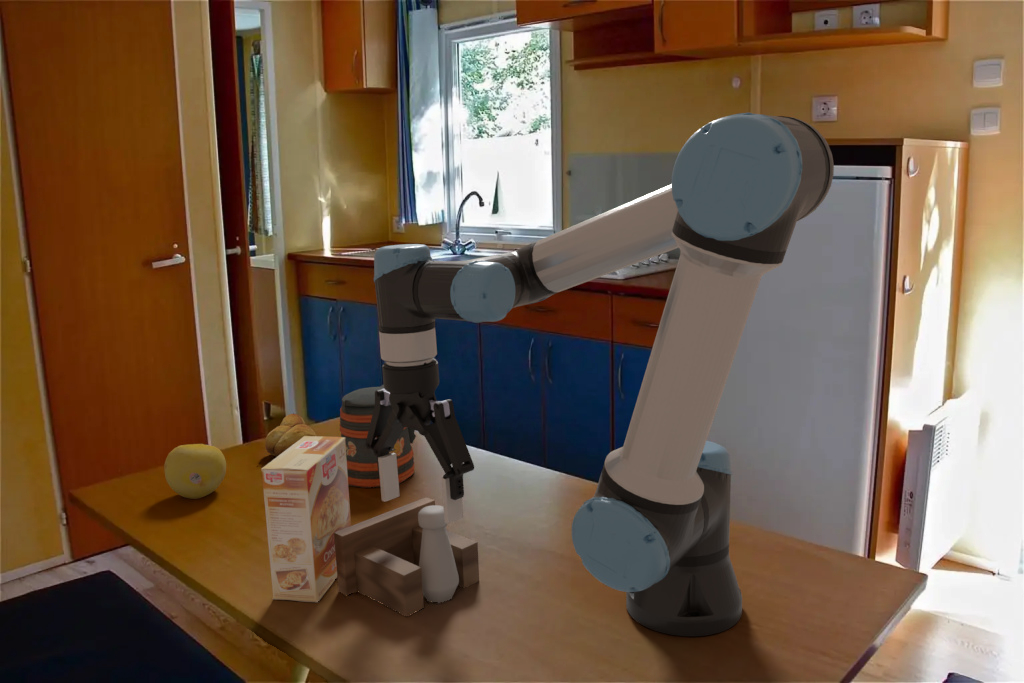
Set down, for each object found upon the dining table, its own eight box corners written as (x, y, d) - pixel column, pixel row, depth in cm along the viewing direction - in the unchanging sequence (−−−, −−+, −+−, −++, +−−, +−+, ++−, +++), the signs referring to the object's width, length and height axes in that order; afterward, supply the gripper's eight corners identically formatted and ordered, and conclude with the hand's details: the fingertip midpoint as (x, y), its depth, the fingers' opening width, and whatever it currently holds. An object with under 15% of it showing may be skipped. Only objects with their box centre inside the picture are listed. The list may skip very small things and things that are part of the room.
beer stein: (393, 452, 186) (387, 359, 182) (445, 464, 177) (440, 367, 173) (323, 479, 171) (315, 378, 167) (376, 494, 162) (369, 389, 158)
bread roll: (330, 457, 184) (327, 420, 182) (288, 469, 178) (285, 431, 176) (299, 444, 193) (296, 409, 192) (258, 455, 187) (255, 419, 185)
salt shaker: (441, 582, 127) (435, 497, 125) (468, 594, 124) (463, 506, 121) (409, 597, 123) (403, 510, 121) (436, 610, 119) (430, 520, 117)
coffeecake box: (318, 603, 123) (307, 469, 119) (270, 600, 124) (258, 468, 120) (356, 556, 137) (347, 435, 133) (312, 554, 138) (302, 434, 134)
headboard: (487, 576, 129) (485, 518, 127) (396, 622, 117) (392, 558, 115) (429, 551, 138) (426, 497, 136) (338, 591, 126) (333, 532, 124)
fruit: (235, 495, 164) (230, 444, 162) (175, 509, 158) (169, 456, 156) (219, 480, 173) (214, 431, 171) (161, 493, 167) (155, 442, 165)
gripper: (494, 365, 113) (503, 521, 117) (375, 346, 130) (386, 483, 134) (451, 376, 108) (462, 540, 112) (332, 355, 125) (346, 497, 129)
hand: (421, 509), depth 123 cm, fingers open, 13 cm apart
